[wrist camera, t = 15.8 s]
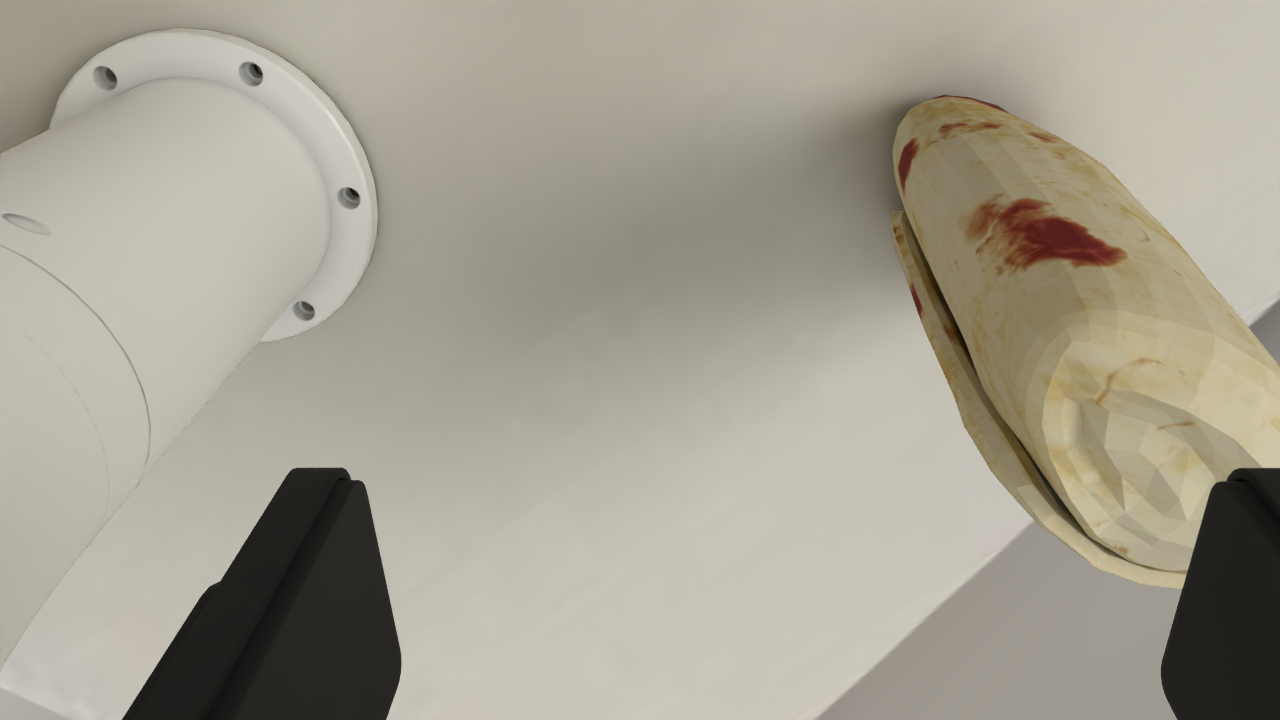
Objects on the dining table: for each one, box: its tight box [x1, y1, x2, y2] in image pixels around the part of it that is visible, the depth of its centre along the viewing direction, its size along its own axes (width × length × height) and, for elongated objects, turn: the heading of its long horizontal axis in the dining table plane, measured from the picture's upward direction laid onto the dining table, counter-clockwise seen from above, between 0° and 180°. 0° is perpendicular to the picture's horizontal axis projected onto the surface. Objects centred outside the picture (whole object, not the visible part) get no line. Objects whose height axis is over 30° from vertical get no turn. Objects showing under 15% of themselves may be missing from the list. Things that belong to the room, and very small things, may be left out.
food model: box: [891, 95, 1280, 589], centre depth 29 cm, size 10×7×20 cm
